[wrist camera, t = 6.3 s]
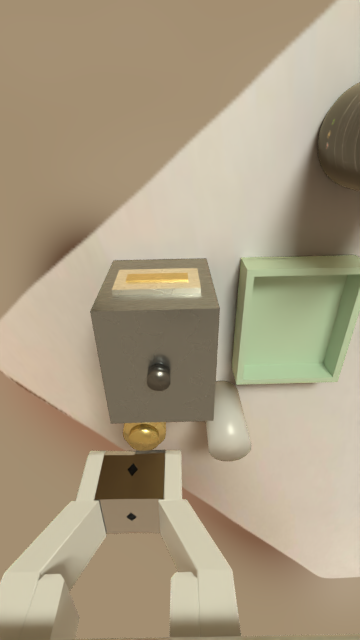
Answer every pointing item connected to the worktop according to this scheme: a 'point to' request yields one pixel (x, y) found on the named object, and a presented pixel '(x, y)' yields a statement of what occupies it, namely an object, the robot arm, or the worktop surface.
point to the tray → (294, 318)
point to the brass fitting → (144, 434)
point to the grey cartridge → (227, 425)
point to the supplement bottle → (342, 140)
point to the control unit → (158, 340)
